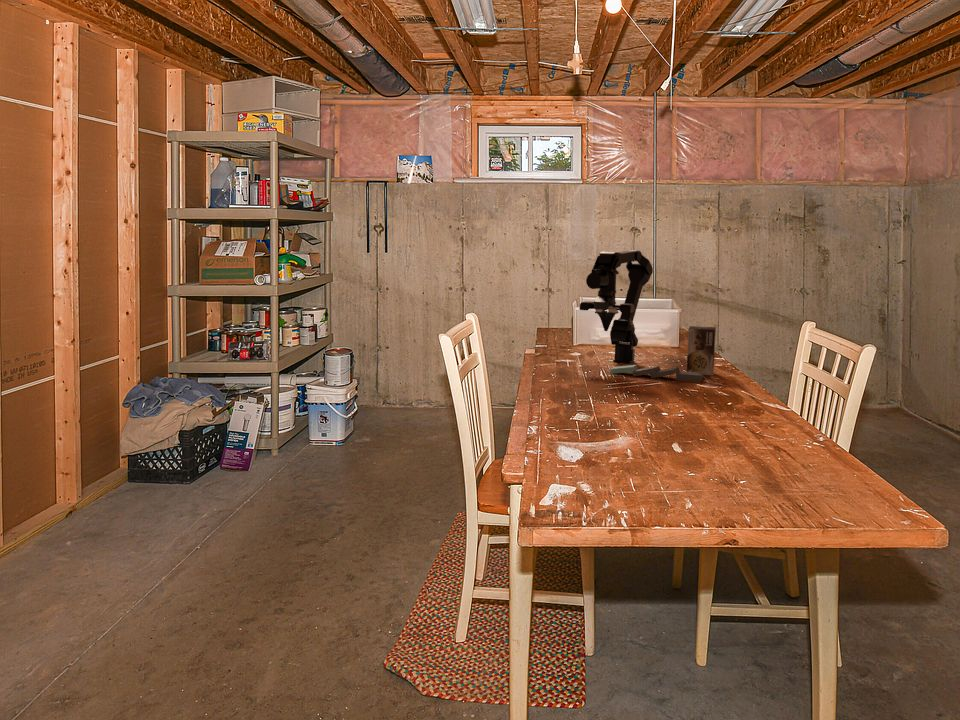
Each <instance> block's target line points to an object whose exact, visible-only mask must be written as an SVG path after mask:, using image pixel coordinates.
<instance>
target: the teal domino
mask: <svg viewBox="0 0 960 720" xmlns="http://www.w3.org/2000/svg"><path fill="white" fill-rule="evenodd" d="M635 370H638V367H637V364H633V365H632V364H631V365H621V366H614V367H612V368H610V369H609V371H610V375H611V374H613V375H614V374H623V373H633V372H634V371H635Z"/></svg>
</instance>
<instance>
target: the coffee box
mask: <svg viewBox="0 0 960 720" xmlns="http://www.w3.org/2000/svg"><path fill="white" fill-rule="evenodd" d="M687 330H688V331H687V354H686V371H685V372H696V373H703V376H714V373H715V357H716V356H715V355H716V334H717V327H716V326H688V329H687Z"/></svg>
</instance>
